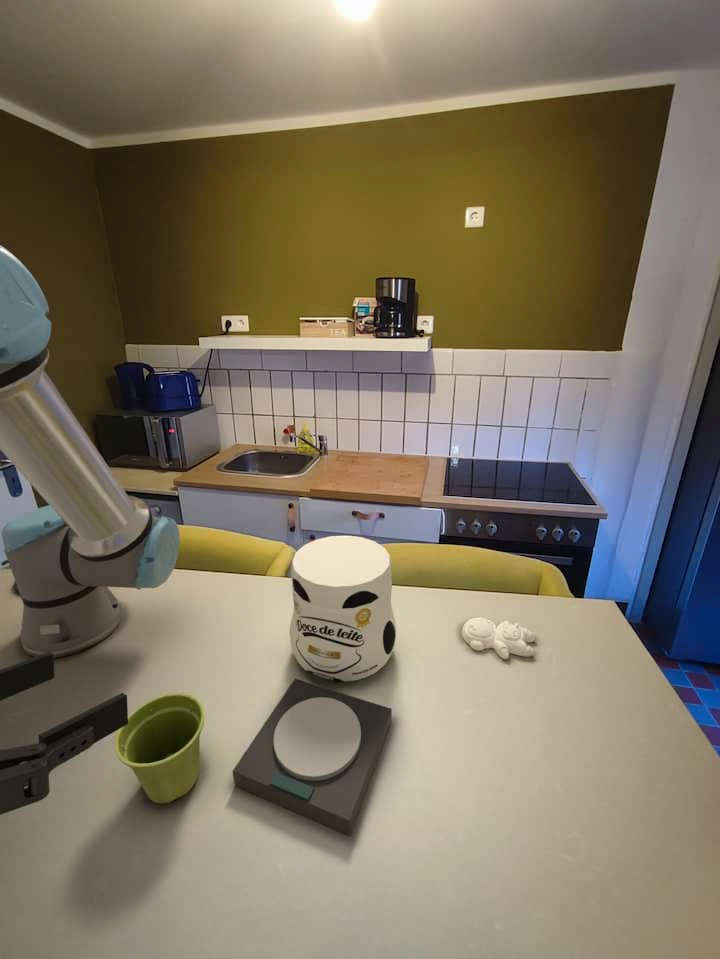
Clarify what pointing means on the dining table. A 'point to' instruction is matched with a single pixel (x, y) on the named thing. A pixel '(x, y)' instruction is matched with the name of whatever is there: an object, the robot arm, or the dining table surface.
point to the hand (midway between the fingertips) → (86, 684)
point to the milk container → (342, 608)
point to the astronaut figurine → (498, 637)
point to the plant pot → (163, 745)
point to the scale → (316, 754)
